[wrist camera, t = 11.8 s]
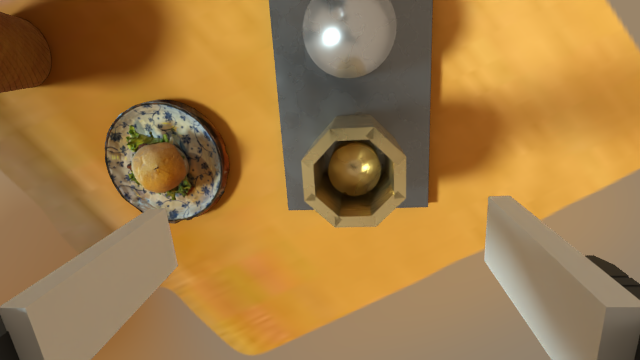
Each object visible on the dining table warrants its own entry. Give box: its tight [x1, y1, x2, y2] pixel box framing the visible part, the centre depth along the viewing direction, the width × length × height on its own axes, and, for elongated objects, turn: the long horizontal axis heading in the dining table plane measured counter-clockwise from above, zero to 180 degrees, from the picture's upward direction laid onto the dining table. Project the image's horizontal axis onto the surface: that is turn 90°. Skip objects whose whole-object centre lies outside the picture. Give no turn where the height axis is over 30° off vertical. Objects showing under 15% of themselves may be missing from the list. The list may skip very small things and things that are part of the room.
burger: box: [105, 100, 230, 223], centre depth 31 cm, size 12×12×8 cm
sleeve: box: [301, 114, 406, 227], centre depth 28 cm, size 7×7×8 cm
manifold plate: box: [269, 0, 433, 210], centre depth 28 cm, size 20×13×6 cm, turn 4°
